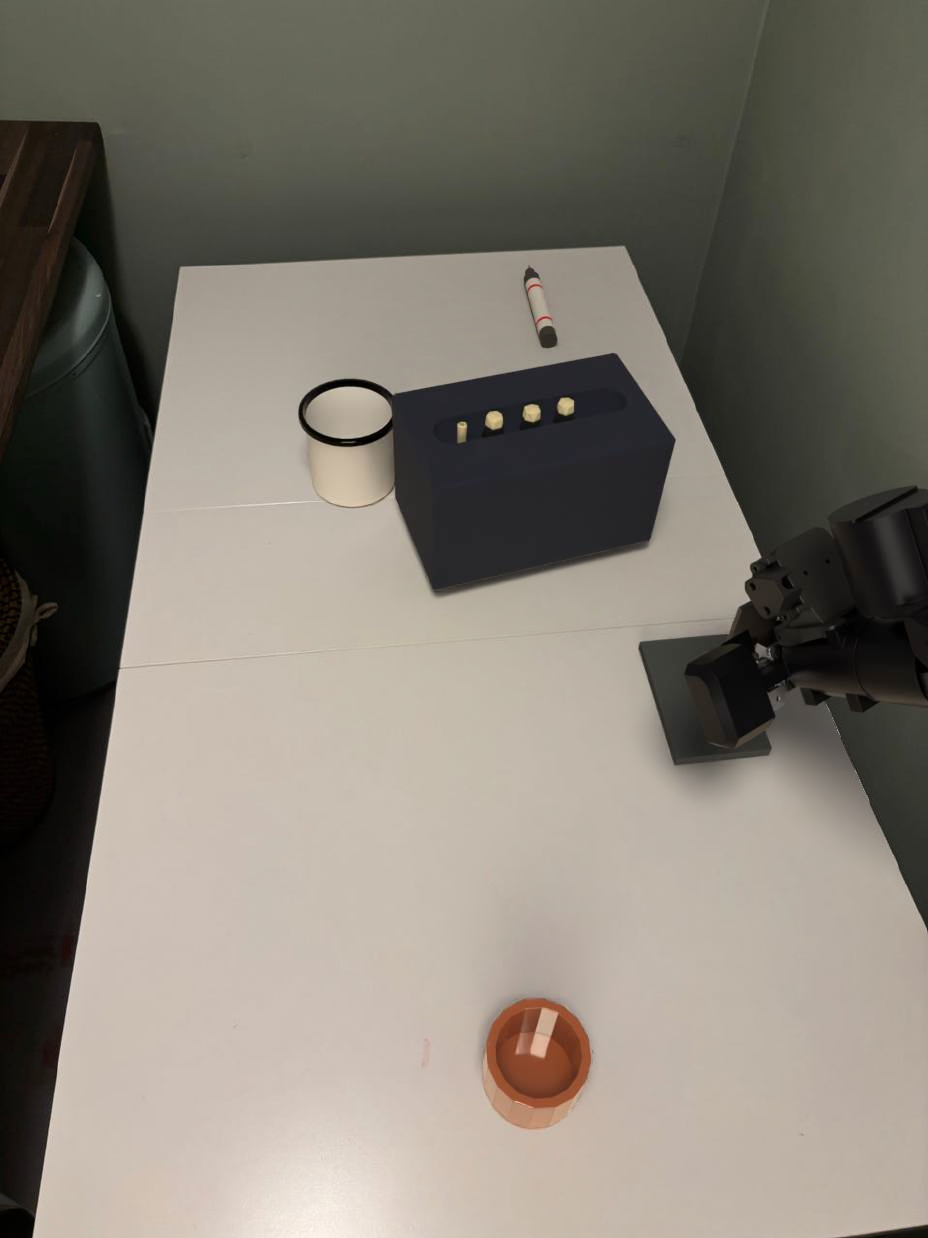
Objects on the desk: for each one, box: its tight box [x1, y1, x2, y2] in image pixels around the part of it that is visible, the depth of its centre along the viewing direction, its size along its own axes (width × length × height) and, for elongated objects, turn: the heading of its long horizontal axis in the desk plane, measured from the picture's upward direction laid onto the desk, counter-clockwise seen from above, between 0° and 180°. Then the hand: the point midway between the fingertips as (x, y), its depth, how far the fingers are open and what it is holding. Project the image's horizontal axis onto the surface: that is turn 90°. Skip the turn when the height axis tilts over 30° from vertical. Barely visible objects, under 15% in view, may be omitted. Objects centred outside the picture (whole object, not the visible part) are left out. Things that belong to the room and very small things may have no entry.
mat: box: [638, 633, 773, 766], centre depth 84 cm, size 12×8×1 cm, turn 8°
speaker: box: [392, 352, 677, 591], centre depth 90 cm, size 22×13×15 cm, turn 108°
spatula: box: [726, 600, 778, 649], centre depth 76 cm, size 2×5×14 cm, turn 122°
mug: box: [297, 378, 395, 508], centre depth 97 cm, size 12×10×9 cm
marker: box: [523, 264, 559, 348], centre depth 119 cm, size 15×2×2 cm, turn 7°
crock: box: [482, 997, 592, 1130], centre depth 63 cm, size 6×6×6 cm
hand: (728, 645), depth 77 cm, fingers closed on spatula, 4 cm apart
